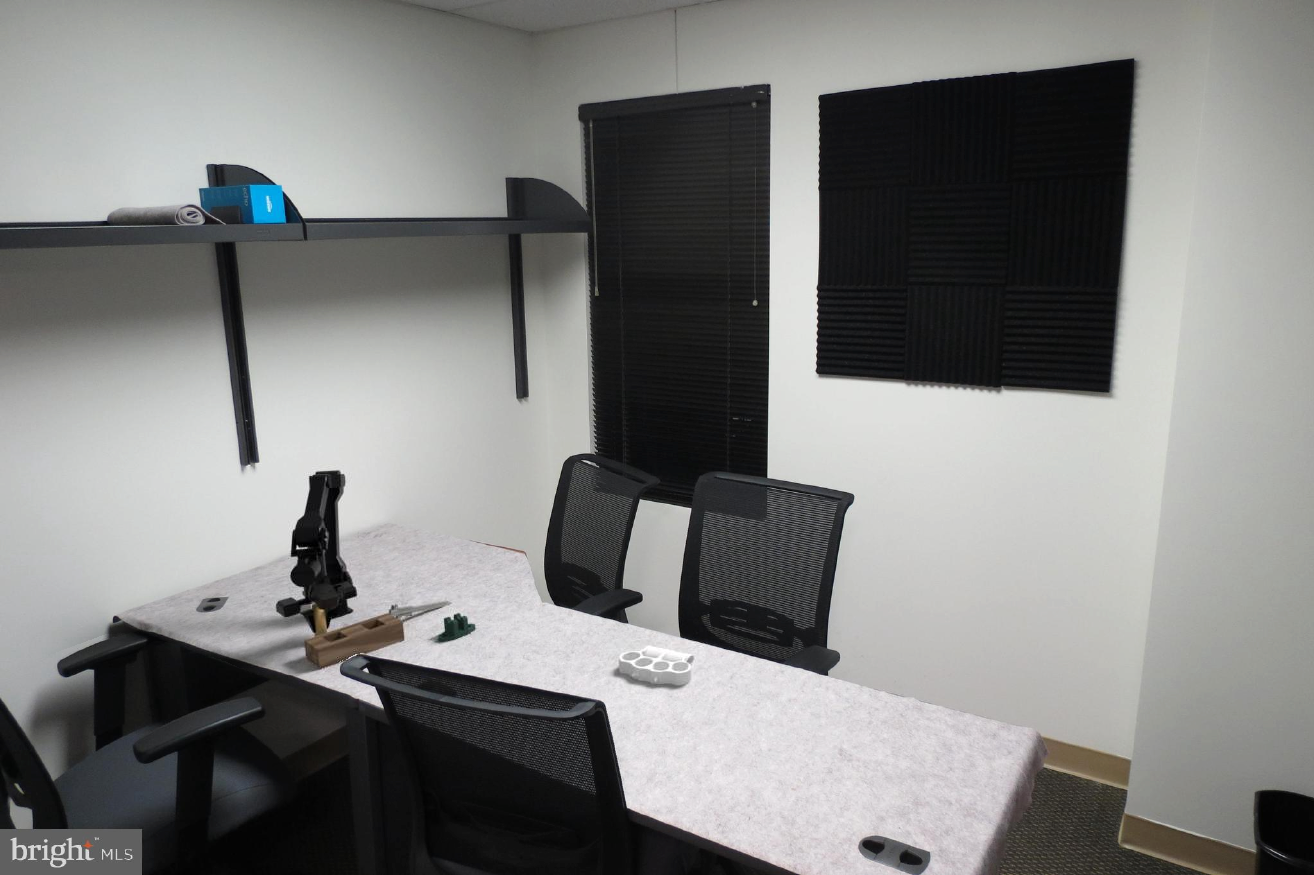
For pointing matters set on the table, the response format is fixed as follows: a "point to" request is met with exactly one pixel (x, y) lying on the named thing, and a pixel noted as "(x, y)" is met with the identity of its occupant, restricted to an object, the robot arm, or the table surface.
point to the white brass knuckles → (657, 666)
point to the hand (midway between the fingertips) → (320, 630)
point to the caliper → (414, 608)
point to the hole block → (353, 640)
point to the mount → (455, 628)
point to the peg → (319, 620)
